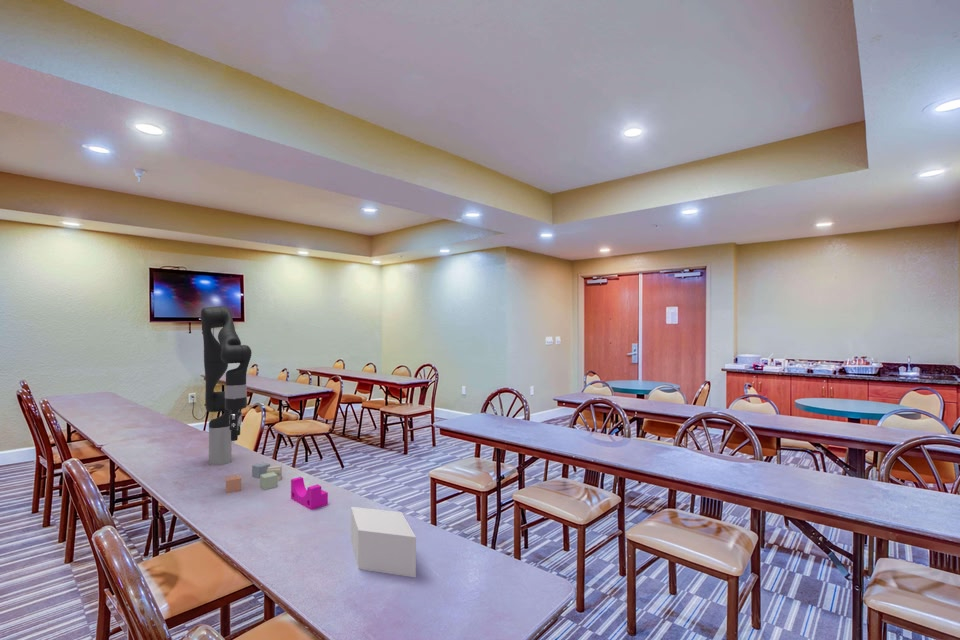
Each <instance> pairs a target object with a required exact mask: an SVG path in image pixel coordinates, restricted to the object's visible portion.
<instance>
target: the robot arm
mask: <svg viewBox="0 0 960 640" xmlns="http://www.w3.org/2000/svg"><path fill="white" fill-rule="evenodd" d="M200 322H201V331H202V337H203V338H202V339H203V340H202V341H203V364H204V365H203V366H204V377H205V378H204V379H205V380H204V381H205V398H204V401H205V402H204V403H205V410H206V412H208V413H218V412H219V413H220V412H224V413H223V414H222V415H220V416H218V417H216V418H212V419H211V420H209V422H208V465H209V466H212V467H215V466H216V467H217V466H224V465H228V464H230V463H231V462H232V459H233V458H232V456H233V454H232V453H233V452H232V450H233V448H232V447H233V446H232V445H233V442H234V441H238V438H239V436H240V435H241V426H242V422H243V421H242V420H243V417H242V416H243V412H242V410H243V409H246V408H247V407H248V399H247V398H248V397H247V396H248V394H247V393H248V390H247V389H248V387H247V372H248V368H249V364H250V362H251V358H252V352H253V351H252V349H251V347H250V346H249V345H247V344H242V341H241V339H240V338H239V335H238V333H237V331H236V328H235V322H234V320H233V316H232V313H231V310H230V308H229V307H227V306H224V305H223V306H222V305H221V306H220V305H218V306H208V307H207V306H206V307H202V309H201V310H200ZM215 328H216V329H217V328H221V329H220V330H219V331H218V335H217V339H216V337H215V335H214V334H213V332H212V329H215ZM229 364H239V365H238V366H237V367H236V368H232V369H229V370H228V367H229ZM224 375H225V389H224V391H214V390H215V387H216V385H218V382H219V381H220V380H221V378H222V377H223V376H224Z"/></svg>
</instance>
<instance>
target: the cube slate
mask: <svg viewBox="0 0 960 640" xmlns="http://www.w3.org/2000/svg"><path fill="white" fill-rule="evenodd" d="M268 467H271V464H270V463H267V462H264V461H263V462H260V463H256V464H252V468H251V471H252V472H251V476H252V477H253V478H256V479H260V475H262V474H266V473H267V469H268Z"/></svg>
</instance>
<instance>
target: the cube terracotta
mask: <svg viewBox="0 0 960 640" xmlns="http://www.w3.org/2000/svg"><path fill="white" fill-rule="evenodd" d="M239 491H240V492H241V491H242V476H241V474H237V475H231V476H230V475H229V476H225V493H226V494H229V493H235V492H239Z"/></svg>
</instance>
